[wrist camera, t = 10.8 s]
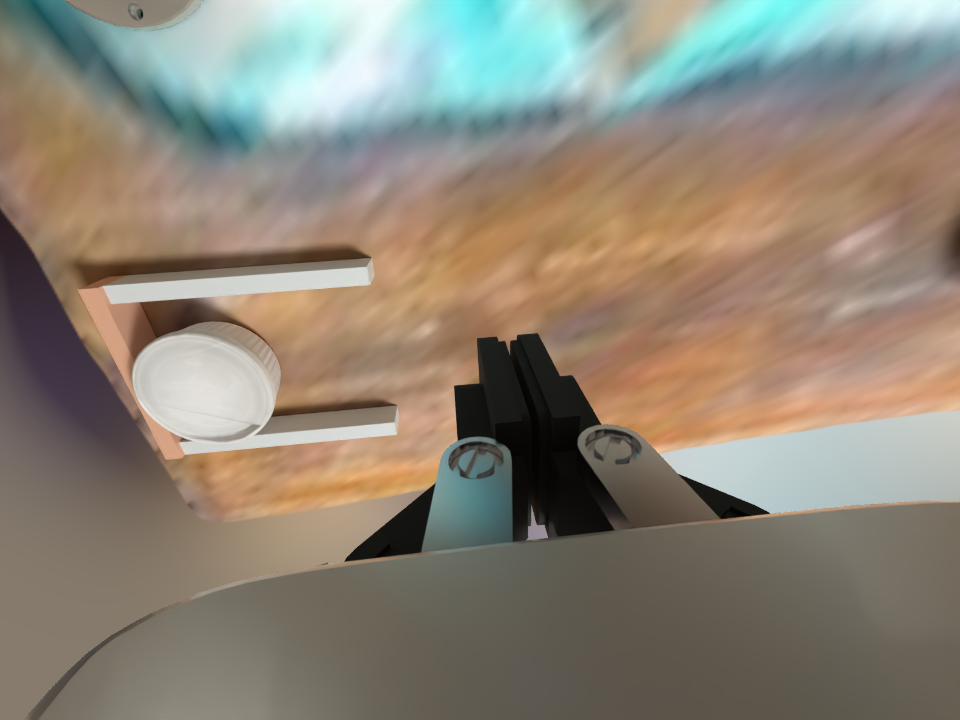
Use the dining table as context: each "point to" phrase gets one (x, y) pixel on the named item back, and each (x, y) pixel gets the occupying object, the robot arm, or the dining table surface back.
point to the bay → (132, 332)
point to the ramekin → (208, 382)
